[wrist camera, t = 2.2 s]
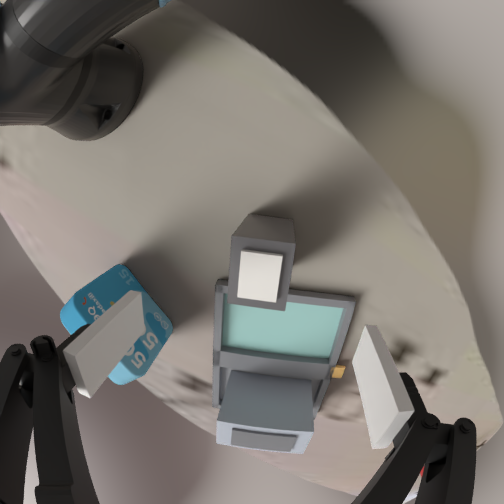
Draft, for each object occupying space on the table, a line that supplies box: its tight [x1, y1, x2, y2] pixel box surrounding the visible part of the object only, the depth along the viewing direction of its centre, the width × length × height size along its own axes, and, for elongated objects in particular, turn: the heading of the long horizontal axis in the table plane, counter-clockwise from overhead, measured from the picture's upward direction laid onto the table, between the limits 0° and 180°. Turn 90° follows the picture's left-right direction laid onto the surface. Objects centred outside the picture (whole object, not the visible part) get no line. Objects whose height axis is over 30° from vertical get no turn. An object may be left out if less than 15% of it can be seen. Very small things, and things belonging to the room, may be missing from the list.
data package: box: [60, 264, 173, 385], centre depth 31 cm, size 12×4×12 cm, turn 37°
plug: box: [227, 214, 296, 311], centre depth 27 cm, size 6×5×10 cm
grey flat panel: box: [212, 279, 356, 420], centre depth 36 cm, size 23×18×2 cm
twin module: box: [217, 370, 314, 454], centre depth 33 cm, size 6×12×10 cm, turn 84°
